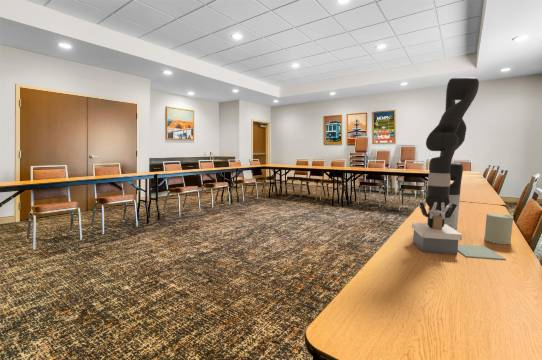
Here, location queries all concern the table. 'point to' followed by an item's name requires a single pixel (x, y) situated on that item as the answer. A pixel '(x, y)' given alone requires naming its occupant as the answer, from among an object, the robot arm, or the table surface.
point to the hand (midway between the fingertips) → (435, 227)
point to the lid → (436, 230)
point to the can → (498, 228)
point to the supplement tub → (451, 220)
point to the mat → (478, 252)
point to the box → (435, 244)
